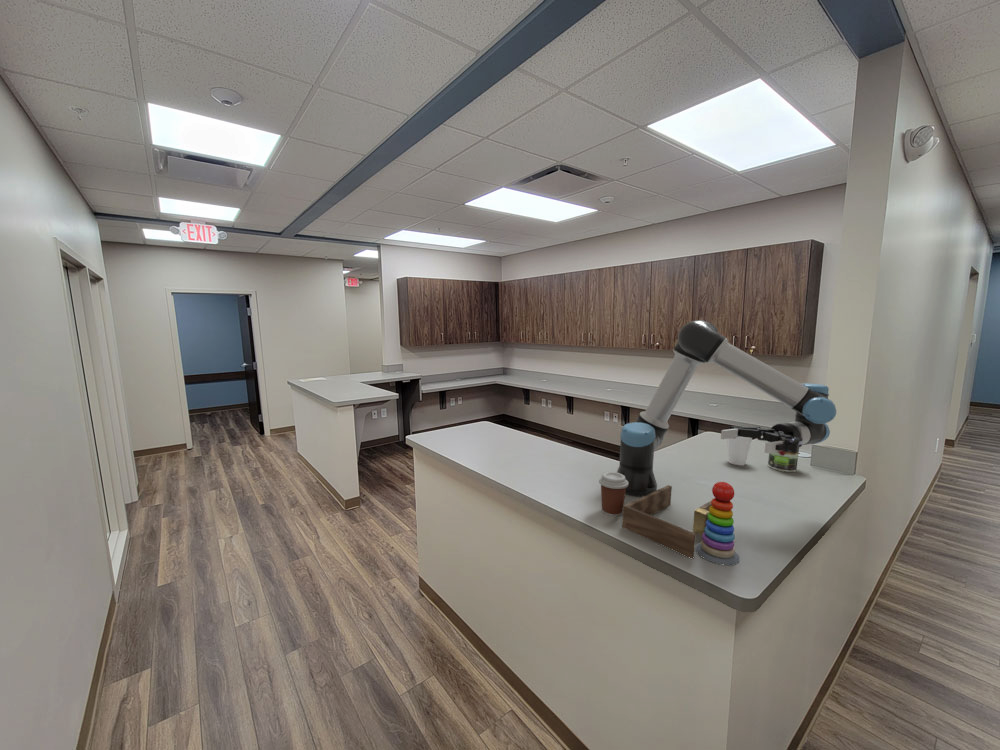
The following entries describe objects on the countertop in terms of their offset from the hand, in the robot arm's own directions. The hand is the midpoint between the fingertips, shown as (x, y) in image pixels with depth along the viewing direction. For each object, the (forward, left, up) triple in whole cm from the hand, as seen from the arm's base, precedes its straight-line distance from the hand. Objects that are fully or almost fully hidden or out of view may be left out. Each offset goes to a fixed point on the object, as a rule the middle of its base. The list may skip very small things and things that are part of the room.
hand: (743, 441), depth 116 cm
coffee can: (+34, +62, -27) cm, 76 cm away
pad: (-9, -18, -26) cm, 33 cm away
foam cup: (+17, +63, -27) cm, 71 cm away
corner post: (-11, -7, -26) cm, 29 cm away
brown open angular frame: (-17, -6, -26) cm, 32 cm away
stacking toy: (-9, -18, -26) cm, 33 cm away
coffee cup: (-36, -2, -27) cm, 45 cm away
